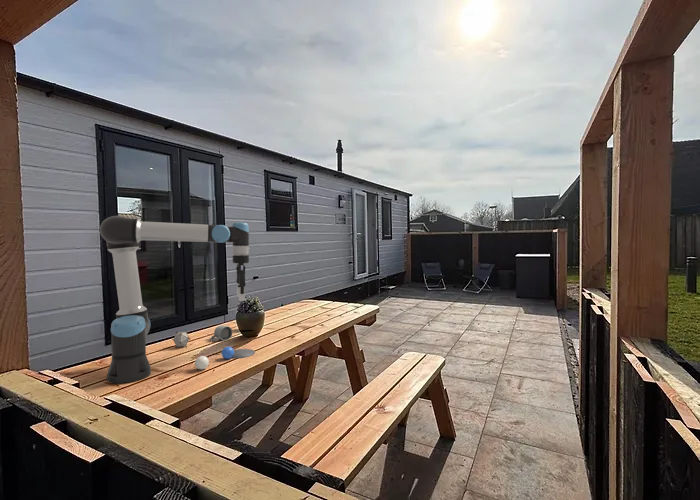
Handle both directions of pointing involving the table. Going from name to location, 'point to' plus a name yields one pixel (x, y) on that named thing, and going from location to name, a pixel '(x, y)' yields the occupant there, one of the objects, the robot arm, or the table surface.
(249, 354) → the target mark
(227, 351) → the blue ball
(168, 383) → the table surface
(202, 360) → the white ball
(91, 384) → the table surface
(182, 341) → the grey spiked polyhedron
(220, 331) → the ceramic mug
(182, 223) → the robot arm
